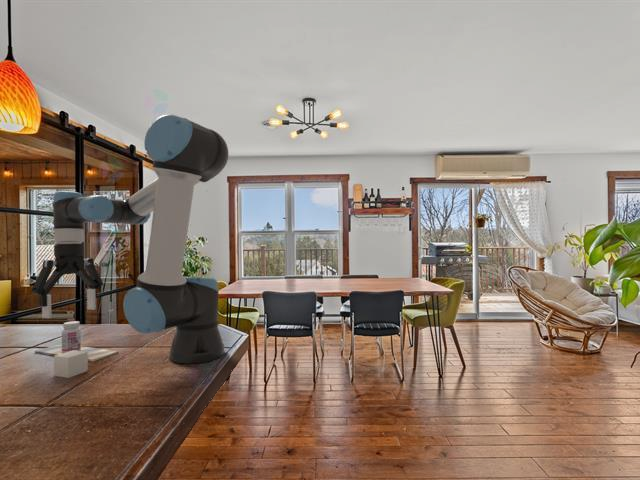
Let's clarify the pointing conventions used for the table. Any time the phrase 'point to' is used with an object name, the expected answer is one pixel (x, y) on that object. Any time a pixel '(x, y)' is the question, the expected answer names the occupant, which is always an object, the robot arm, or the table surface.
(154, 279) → the robot arm
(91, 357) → the track
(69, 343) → the pill bottle
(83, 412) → the table surface
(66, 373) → the blank white cube
